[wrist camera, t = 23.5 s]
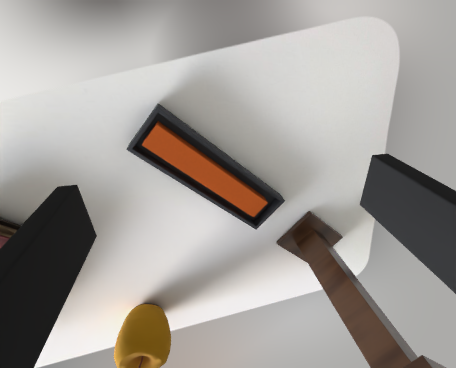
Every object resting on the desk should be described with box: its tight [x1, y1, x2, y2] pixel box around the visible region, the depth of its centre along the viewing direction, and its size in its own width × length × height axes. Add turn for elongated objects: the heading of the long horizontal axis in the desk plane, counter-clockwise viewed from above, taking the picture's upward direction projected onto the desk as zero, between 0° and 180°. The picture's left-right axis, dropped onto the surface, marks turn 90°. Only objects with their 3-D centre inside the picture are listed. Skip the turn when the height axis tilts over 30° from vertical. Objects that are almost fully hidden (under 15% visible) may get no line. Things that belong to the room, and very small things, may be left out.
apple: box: [114, 304, 171, 368], centre depth 54 cm, size 11×11×13 cm
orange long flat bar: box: [142, 121, 268, 217], centre depth 43 cm, size 24×4×2 cm, turn 49°
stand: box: [277, 211, 446, 368], centre depth 44 cm, size 14×10×30 cm
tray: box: [127, 104, 285, 229], centre depth 44 cm, size 28×8×2 cm, turn 49°
